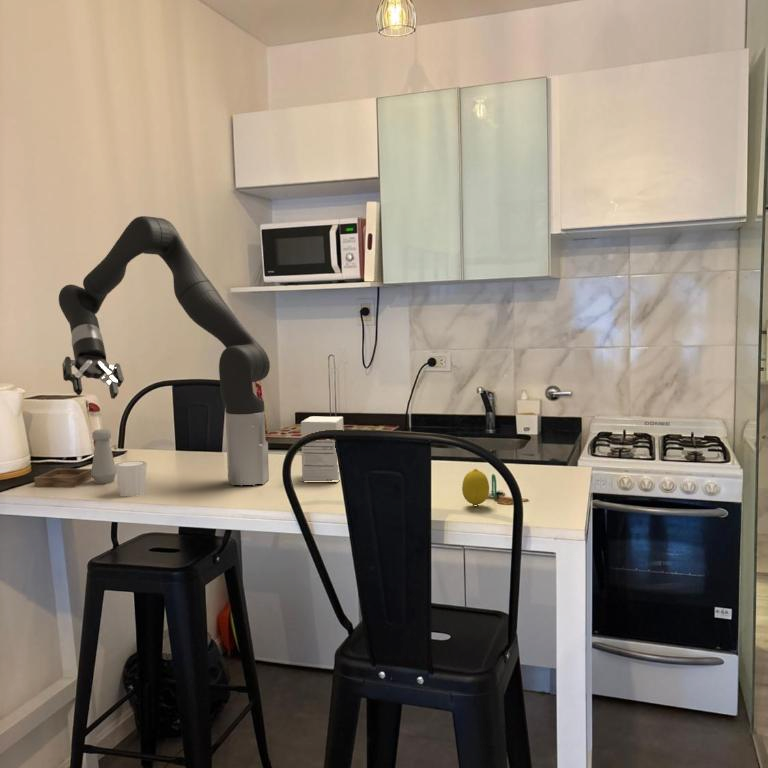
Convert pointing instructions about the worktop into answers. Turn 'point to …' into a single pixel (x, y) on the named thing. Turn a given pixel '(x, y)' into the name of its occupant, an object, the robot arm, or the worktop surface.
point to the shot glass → (131, 477)
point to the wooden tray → (63, 478)
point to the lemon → (475, 487)
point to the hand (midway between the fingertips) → (97, 394)
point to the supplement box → (320, 450)
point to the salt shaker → (103, 458)
